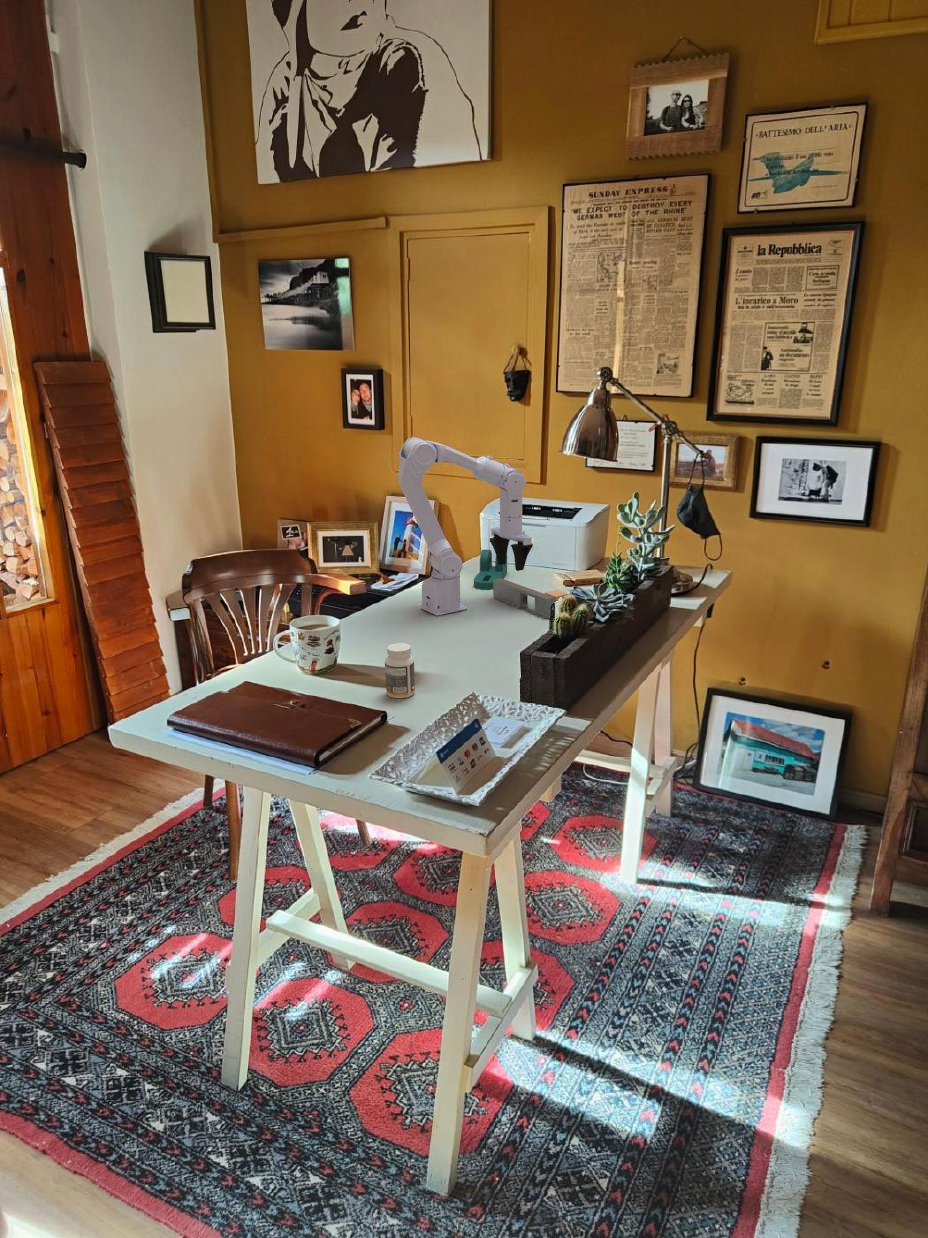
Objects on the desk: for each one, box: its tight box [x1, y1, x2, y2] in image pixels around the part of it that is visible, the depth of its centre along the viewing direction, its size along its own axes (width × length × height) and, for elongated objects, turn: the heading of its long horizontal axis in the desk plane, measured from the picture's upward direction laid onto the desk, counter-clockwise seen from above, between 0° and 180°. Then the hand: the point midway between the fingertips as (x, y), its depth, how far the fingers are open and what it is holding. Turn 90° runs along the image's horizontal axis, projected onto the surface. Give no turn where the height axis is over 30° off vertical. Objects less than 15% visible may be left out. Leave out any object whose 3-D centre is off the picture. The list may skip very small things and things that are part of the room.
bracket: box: [473, 549, 508, 591], centre depth 252 cm, size 18×7×8 cm, turn 167°
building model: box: [492, 578, 554, 620], centre depth 228 cm, size 2×22×5 cm, turn 35°
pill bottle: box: [384, 642, 416, 699], centre depth 175 cm, size 6×6×10 cm
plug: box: [544, 589, 568, 602], centre depth 229 cm, size 8×4×3 cm, turn 125°
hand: (510, 567), depth 231 cm, fingers open, 7 cm apart
